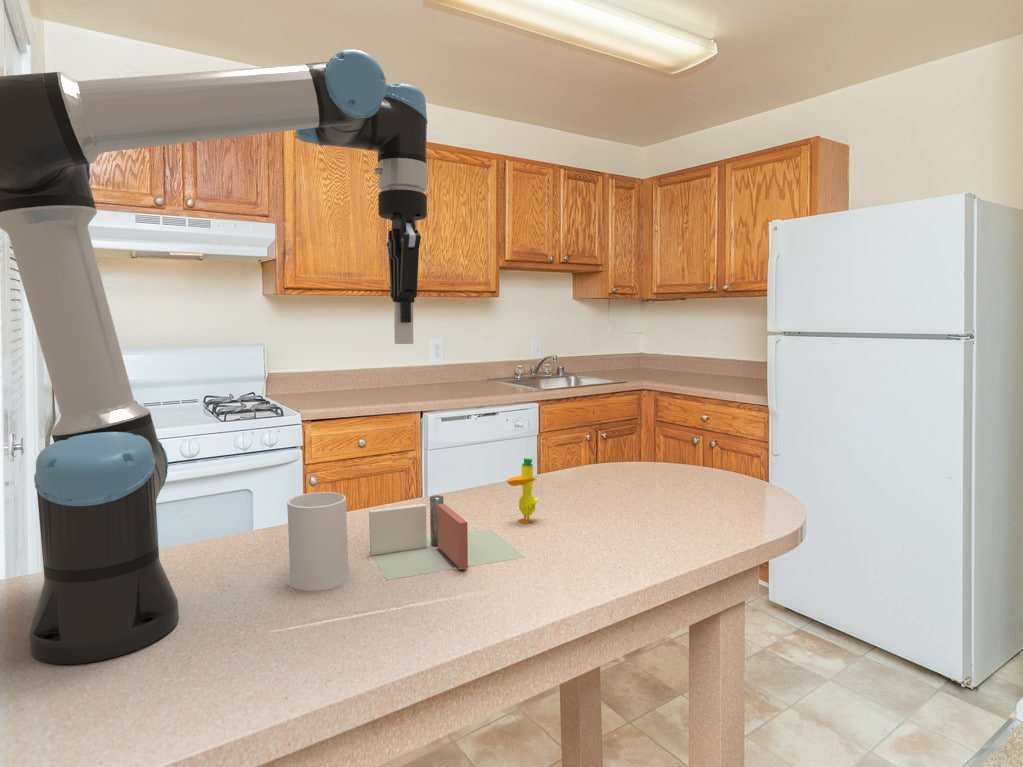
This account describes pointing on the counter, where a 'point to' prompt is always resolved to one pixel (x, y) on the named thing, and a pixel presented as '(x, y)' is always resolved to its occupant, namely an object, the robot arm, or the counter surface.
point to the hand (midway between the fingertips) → (403, 343)
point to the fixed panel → (397, 529)
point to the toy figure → (525, 490)
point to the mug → (318, 541)
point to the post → (434, 518)
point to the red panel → (452, 535)
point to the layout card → (445, 556)
